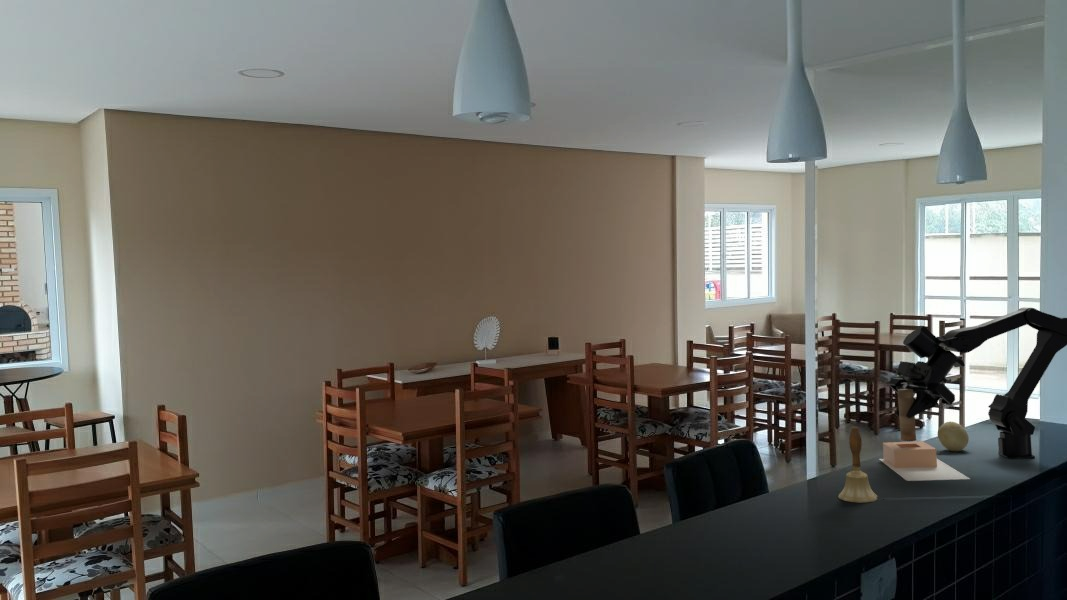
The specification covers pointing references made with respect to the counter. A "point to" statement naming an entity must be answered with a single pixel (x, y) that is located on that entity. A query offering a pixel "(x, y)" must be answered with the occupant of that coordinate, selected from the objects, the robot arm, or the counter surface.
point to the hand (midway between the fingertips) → (902, 416)
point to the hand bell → (857, 475)
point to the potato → (953, 436)
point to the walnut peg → (905, 423)
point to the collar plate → (928, 472)
